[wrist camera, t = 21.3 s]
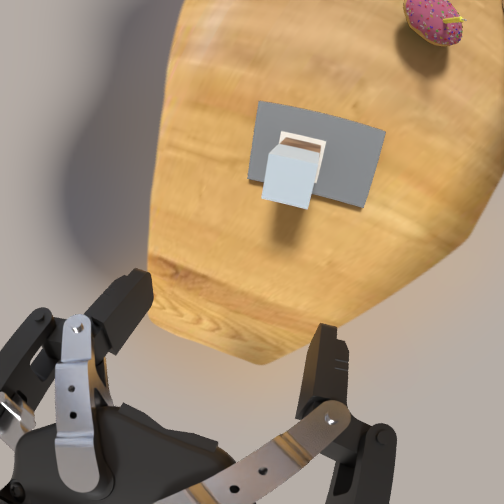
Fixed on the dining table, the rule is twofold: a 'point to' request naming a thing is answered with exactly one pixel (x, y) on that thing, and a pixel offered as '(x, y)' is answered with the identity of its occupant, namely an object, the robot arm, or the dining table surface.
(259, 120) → the grey flat plate
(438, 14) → the cupcake
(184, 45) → the dining table surface
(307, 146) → the walnut block
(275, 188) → the greyblue block
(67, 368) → the robot arm
